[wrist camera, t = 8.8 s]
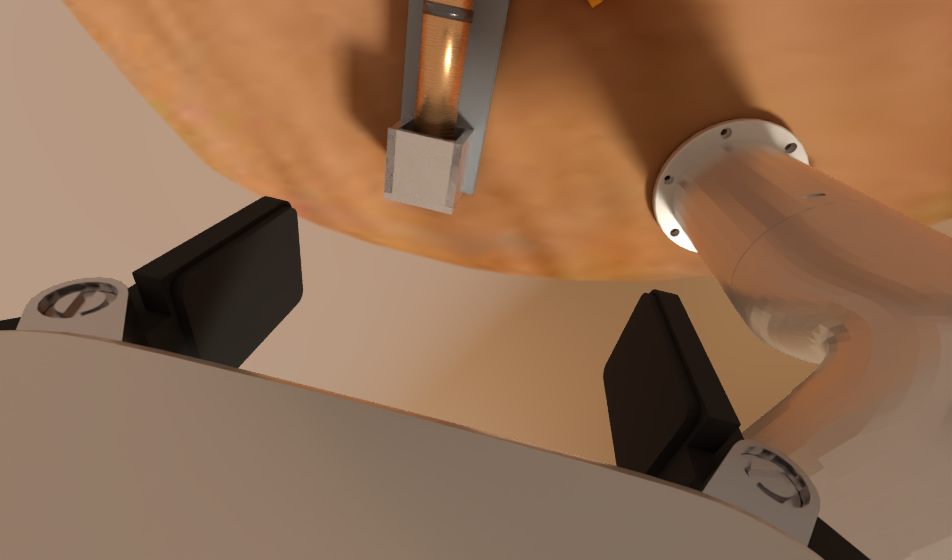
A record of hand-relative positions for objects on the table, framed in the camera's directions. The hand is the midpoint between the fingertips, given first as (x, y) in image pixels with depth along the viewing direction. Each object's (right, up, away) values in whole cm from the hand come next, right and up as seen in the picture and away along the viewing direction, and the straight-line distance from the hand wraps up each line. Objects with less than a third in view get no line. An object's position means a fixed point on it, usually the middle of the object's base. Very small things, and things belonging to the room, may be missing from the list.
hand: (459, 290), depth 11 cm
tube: (-2, +20, +21) cm, 29 cm away
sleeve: (-3, +12, +28) cm, 30 cm away
